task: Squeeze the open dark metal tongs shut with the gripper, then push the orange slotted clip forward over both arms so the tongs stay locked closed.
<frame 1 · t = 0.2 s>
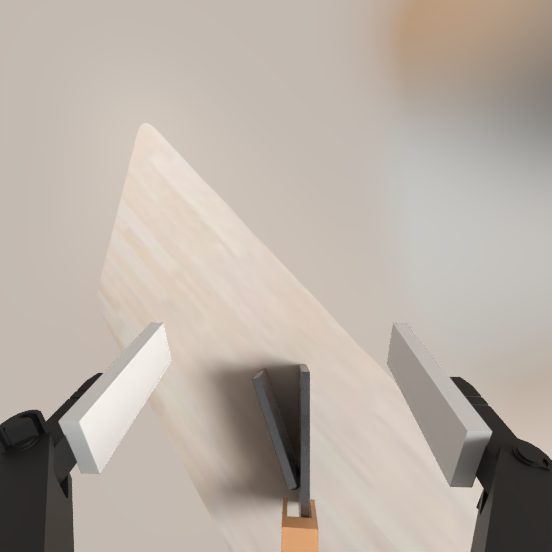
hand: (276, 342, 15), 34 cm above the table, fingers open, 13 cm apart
tongs hinged arm: (275, 420, 42), point 5 cm above the table, hinge at 22.0°
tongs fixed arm: (298, 461, 44), on the table
orange slotted clip: (299, 526, 35), point 8 cm above the table, slide at 0.0 cm
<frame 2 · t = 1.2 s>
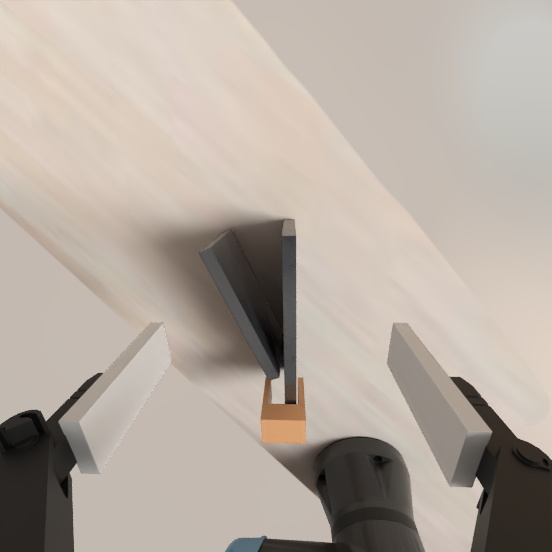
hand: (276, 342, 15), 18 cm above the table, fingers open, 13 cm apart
tongs hinged arm: (249, 300, 29), point 5 cm above the table, hinge at 22.0°
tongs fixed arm: (285, 334, 36), on the table
orange slotted clip: (284, 407, 30), point 8 cm above the table, slide at 0.0 cm
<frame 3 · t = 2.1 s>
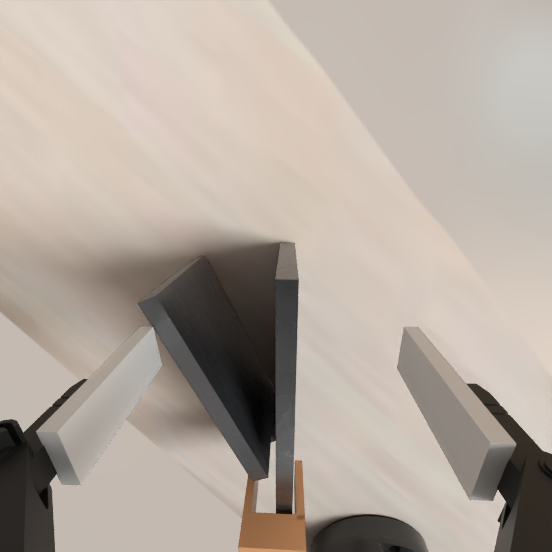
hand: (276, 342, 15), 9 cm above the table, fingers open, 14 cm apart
tongs hinged arm: (226, 357, 21), point 5 cm above the table, hinge at 23.2°, touching gripper
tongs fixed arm: (279, 391, 27), on the table
orange slotted clip: (274, 511, 21), point 8 cm above the table, slide at 0.0 cm
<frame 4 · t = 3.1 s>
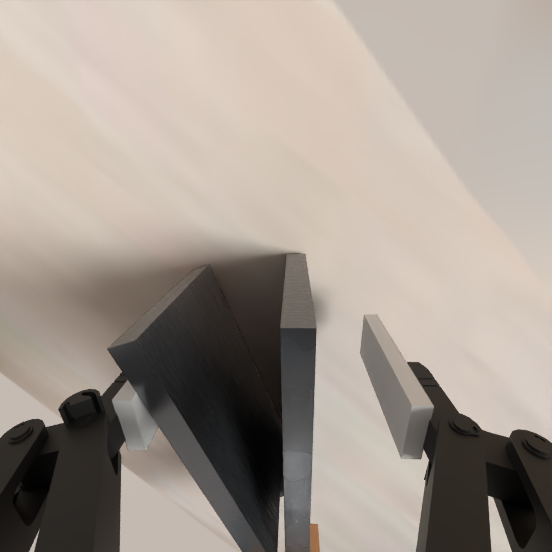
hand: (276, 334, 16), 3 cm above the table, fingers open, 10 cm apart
tongs hinged arm: (229, 402, 16), point 5 cm above the table, hinge at 18.2°, touching gripper
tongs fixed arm: (288, 428, 23), on the table
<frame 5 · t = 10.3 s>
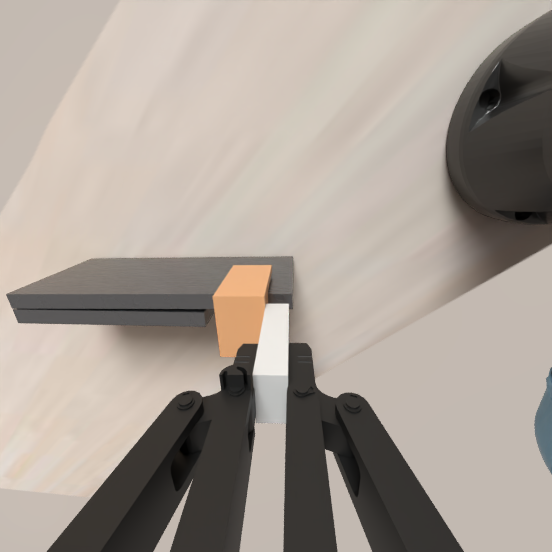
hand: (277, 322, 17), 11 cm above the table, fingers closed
tongs hinged arm: (139, 293, 24), point 5 cm above the table, hinge at -0.8°
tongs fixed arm: (235, 268, 28), on the table
orange slotted clip: (248, 306, 20), point 8 cm above the table, slide at 1.5 cm, touching gripper
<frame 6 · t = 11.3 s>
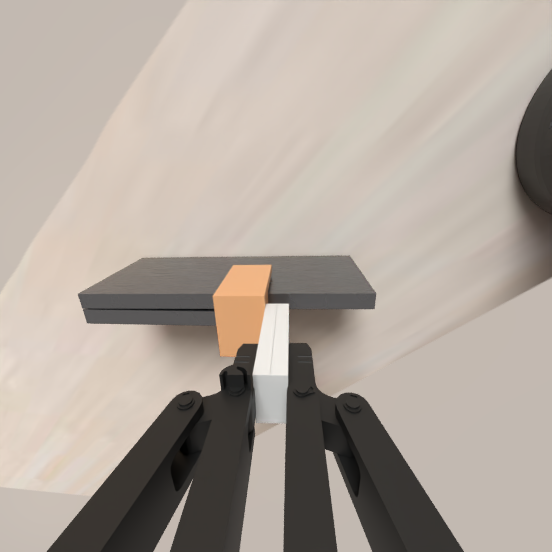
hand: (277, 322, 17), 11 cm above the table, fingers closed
tongs hinged arm: (200, 293, 24), point 5 cm above the table, hinge at -0.8°
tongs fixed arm: (289, 267, 27), on the table
orange slotted clip: (248, 306, 20), point 8 cm above the table, slide at 7.2 cm, touching gripper
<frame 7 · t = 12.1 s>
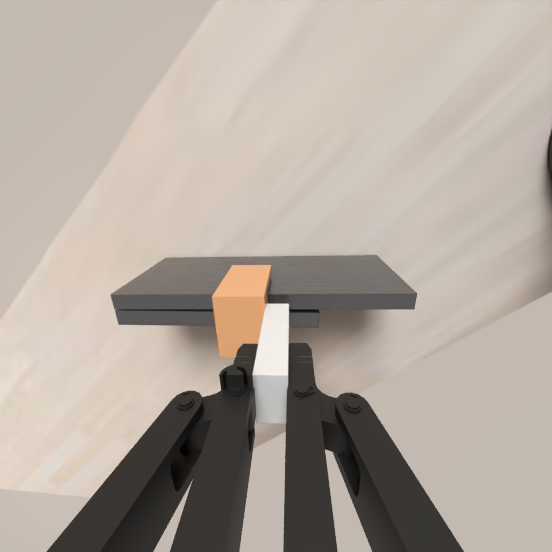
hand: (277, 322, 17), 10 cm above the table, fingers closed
tongs hinged arm: (228, 293, 23), point 5 cm above the table, hinge at -0.8°
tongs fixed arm: (315, 267, 27), on the table
orange slotted clip: (247, 306, 20), point 8 cm above the table, slide at 9.9 cm, touching gripper
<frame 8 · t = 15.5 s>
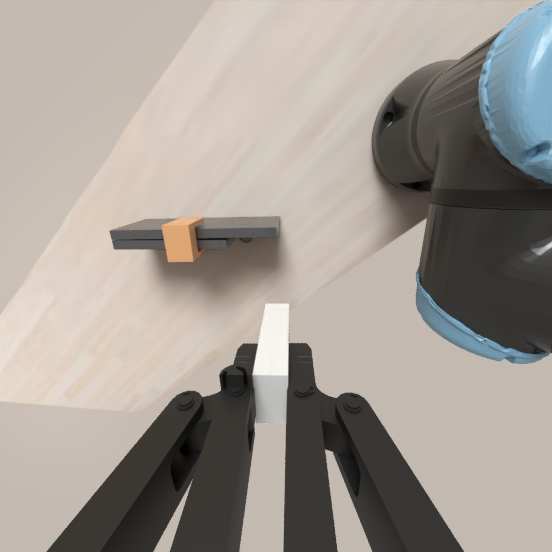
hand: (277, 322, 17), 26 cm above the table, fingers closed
tongs hinged arm: (182, 237, 38), point 5 cm above the table, hinge at -0.8°
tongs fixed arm: (241, 225, 42), on the table
orange slotted clip: (186, 238, 34), point 8 cm above the table, slide at 10.0 cm
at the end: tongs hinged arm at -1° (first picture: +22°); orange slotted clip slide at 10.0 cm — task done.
